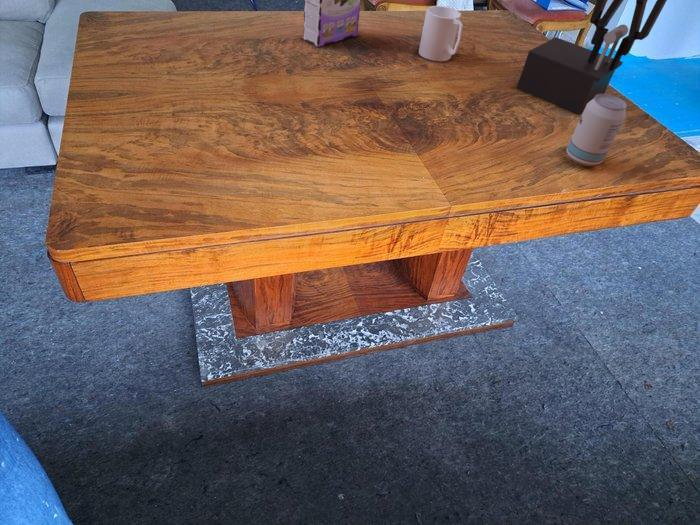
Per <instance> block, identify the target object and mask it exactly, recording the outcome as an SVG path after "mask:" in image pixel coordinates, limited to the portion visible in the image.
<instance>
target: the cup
mask: <svg viewBox="0 0 700 525" xmlns="http://www.w3.org/2000/svg"><path fill="white" fill-rule="evenodd" d="M461 16H462V14H461V12H460V11H458V10H457V9H455V8H453V7H449V6H443V5H431V6H428V7H427V8H426V11H425V16H424V21H423V27H422V32H421V37H420V43H419V47H418V54H419V56H421V57H422V58H424V59H425V60H428V61H429V60H430V61H434V62H446V61H450V59H451V58H452V56H454V55H455V54H457V53H458V49H459V47H460V44H461V42H462V36H463V28H464V25H463V22H461V21H460V19H461ZM456 37H457V39H456ZM455 42H456V43H455Z"/></svg>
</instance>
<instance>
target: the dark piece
mask: <svg viewBox="0 0 700 525" xmlns="http://www.w3.org/2000/svg"><path fill="white" fill-rule="evenodd" d="M615 72H616V69H615V70H614V71H613V72H611V73H610V74H608V75H607V76H606V77H604V78H603V79H601V80H600V81H598V82H597V81H595V80H592V79H590V78H587V77H584V76H582V75H579V74H577V73H574V72H572V71H569V70H567V69H564V68H562V67H559V66H557V65H554V64H551V63H549V62H546V61H544V60H541V59H539V58H536V57H534V56H531V55H529V54H527V56H526V59H525V62H524V65H523V68H522V71H521V73H520V77H519V80H518V82H517V85H516V89H518V90H520V91H523V92H525V93H528V94H529V95H532V96H535V97H537V98H539V99H542V100H544V101H546V102H548V103H551V104H554V105H555V106H557V107H560V108H562V109H564V110H567V111H570V112H571V113H575V114H577V115H581V114H583V111H584V109H585V107H586V105H587V103H588V102H590V101H591V100H592V99H594V97H595V96H596V95H597V94H606V90H607V88H608V86H609V84H610V82H611V80H612V78H613V76H614V73H615Z"/></svg>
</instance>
